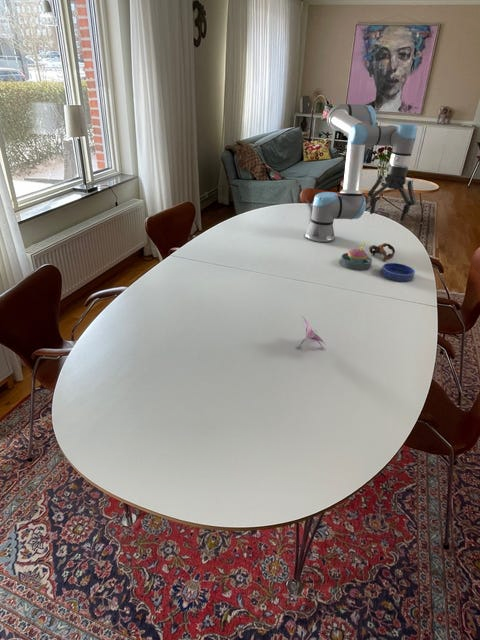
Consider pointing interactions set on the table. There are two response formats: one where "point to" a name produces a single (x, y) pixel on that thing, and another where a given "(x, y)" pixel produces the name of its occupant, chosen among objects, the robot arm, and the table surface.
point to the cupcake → (357, 255)
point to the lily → (311, 334)
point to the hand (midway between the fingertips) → (386, 216)
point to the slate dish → (357, 266)
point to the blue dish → (397, 272)
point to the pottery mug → (382, 251)
